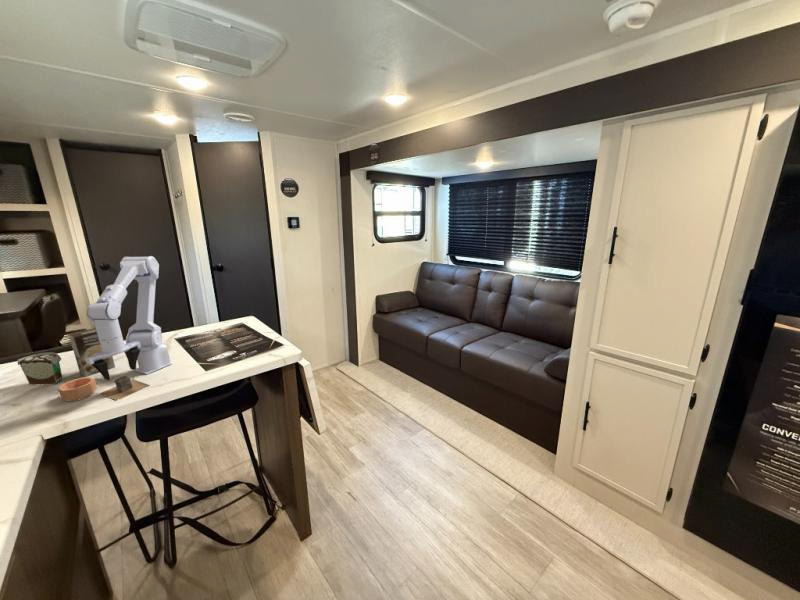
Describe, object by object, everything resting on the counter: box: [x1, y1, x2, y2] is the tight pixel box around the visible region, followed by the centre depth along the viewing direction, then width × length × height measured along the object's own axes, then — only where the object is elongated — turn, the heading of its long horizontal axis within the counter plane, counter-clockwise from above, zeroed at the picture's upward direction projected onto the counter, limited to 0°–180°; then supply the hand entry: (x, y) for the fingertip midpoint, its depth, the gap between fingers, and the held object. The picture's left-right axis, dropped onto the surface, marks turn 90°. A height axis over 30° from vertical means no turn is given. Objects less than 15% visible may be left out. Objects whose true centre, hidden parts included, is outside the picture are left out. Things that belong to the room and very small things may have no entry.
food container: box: [16, 352, 63, 386], centre depth 115 cm, size 12×6×10 cm, turn 92°
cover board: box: [99, 375, 151, 401], centre depth 109 cm, size 10×10×5 cm
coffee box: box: [68, 327, 116, 377], centre depth 121 cm, size 9×6×16 cm
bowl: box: [57, 376, 98, 402], centre depth 106 cm, size 8×8×4 cm
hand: (120, 374), depth 108 cm, fingers open, 7 cm apart
